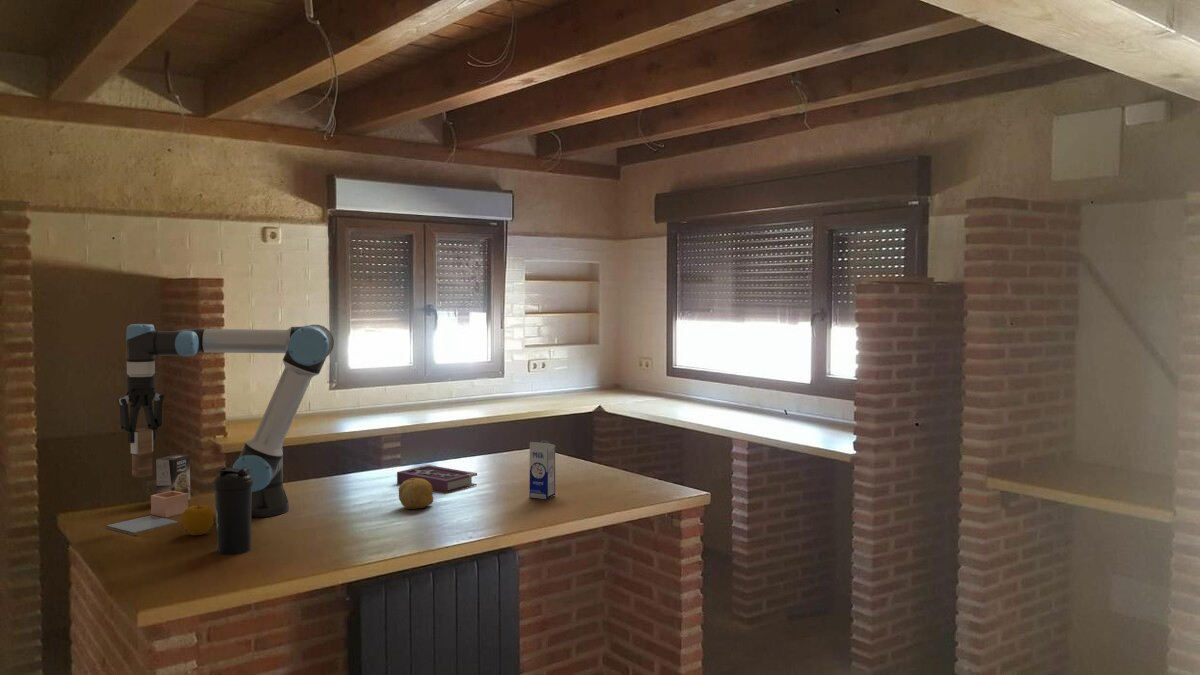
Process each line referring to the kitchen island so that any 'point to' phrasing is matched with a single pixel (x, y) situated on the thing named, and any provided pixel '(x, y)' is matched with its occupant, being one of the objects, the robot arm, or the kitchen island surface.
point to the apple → (198, 519)
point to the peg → (143, 454)
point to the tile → (141, 524)
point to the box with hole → (169, 503)
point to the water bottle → (233, 510)
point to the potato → (416, 493)
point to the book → (439, 477)
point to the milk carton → (542, 469)
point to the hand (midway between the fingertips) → (142, 452)
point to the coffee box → (173, 474)
